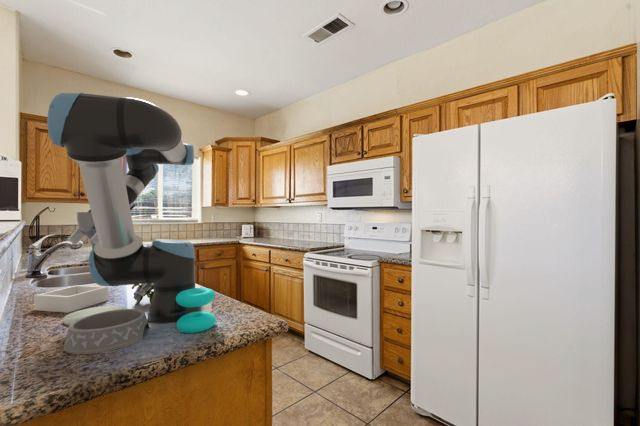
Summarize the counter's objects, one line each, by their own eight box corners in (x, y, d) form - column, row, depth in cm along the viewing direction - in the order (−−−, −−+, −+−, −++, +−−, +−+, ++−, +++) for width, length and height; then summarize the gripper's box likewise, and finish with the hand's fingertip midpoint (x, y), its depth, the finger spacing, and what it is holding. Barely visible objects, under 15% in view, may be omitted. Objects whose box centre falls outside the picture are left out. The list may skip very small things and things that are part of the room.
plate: (134, 310, 102) (134, 306, 102) (91, 327, 87) (91, 323, 87) (97, 308, 105) (97, 304, 105) (50, 323, 91) (49, 319, 91)
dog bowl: (48, 360, 68) (48, 335, 68) (86, 330, 86) (86, 310, 86) (136, 349, 73) (136, 326, 73) (155, 323, 91) (154, 304, 91)
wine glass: (71, 262, 94) (70, 212, 94) (97, 258, 101) (96, 212, 101) (90, 263, 91) (89, 211, 91) (115, 259, 99) (114, 211, 99)
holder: (108, 300, 115) (107, 286, 115) (68, 312, 101) (68, 297, 101) (77, 298, 118) (77, 285, 118) (34, 310, 104) (34, 295, 104)
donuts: (215, 285, 92) (213, 294, 82) (216, 319, 92) (214, 332, 82) (179, 288, 89) (172, 297, 79) (179, 323, 89) (173, 336, 79)
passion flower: (138, 320, 108) (126, 290, 112) (170, 307, 116) (158, 279, 119) (142, 308, 101) (129, 276, 104) (176, 295, 108) (163, 266, 112)
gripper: (158, 198, 109) (119, 250, 93) (109, 200, 113) (65, 249, 98) (145, 181, 104) (102, 233, 88) (95, 184, 108) (46, 233, 93)
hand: (82, 242), depth 93 cm, fingers closed on wine glass, 8 cm apart
